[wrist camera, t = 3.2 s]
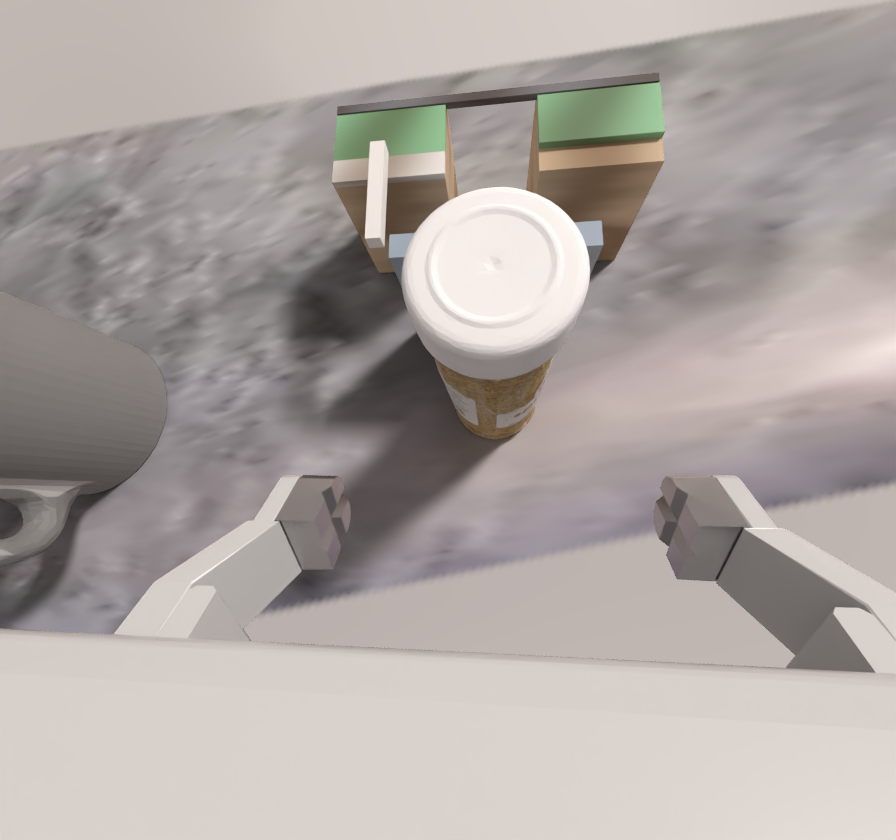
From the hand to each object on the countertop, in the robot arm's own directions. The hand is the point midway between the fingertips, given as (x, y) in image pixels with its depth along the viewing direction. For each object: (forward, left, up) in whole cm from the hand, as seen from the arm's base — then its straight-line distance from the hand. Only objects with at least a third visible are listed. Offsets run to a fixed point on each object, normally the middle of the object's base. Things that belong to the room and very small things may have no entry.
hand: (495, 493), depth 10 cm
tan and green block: (0, -15, -11) cm, 19 cm away
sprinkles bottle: (0, -5, -12) cm, 13 cm away
